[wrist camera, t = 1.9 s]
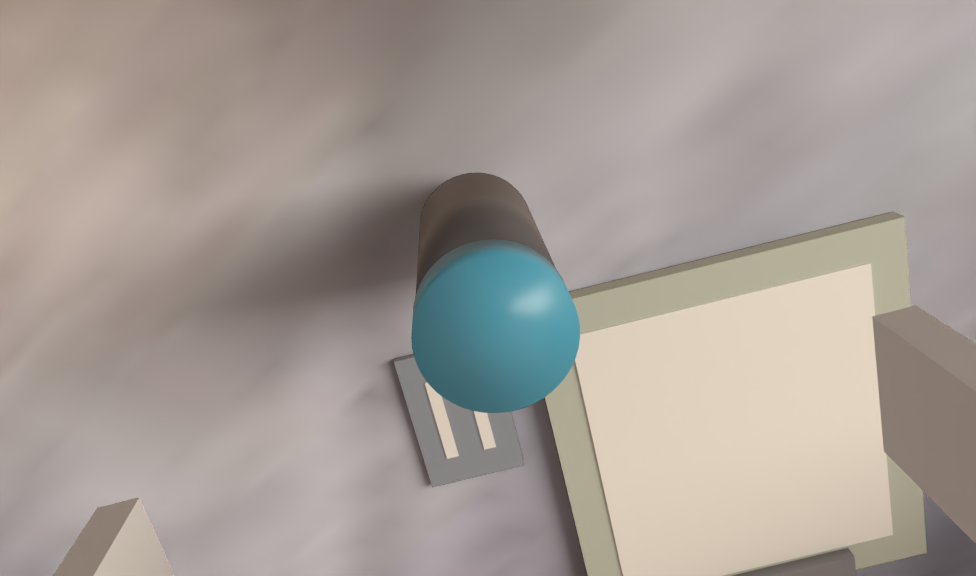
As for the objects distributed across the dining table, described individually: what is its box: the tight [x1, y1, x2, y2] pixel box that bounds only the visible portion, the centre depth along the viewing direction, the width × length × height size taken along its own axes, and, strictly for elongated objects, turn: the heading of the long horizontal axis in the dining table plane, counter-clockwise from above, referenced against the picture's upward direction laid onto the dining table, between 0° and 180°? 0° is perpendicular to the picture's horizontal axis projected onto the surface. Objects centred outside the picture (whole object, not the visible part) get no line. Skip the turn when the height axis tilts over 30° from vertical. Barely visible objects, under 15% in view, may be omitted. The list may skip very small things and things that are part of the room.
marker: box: [412, 173, 580, 413], centre depth 26 cm, size 4×4×12 cm
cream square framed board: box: [545, 212, 927, 576], centre depth 35 cm, size 16×15×1 cm
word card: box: [394, 354, 524, 487], centre depth 34 cm, size 6×4×1 cm, turn 14°
